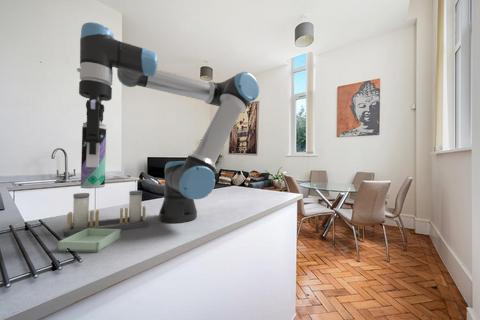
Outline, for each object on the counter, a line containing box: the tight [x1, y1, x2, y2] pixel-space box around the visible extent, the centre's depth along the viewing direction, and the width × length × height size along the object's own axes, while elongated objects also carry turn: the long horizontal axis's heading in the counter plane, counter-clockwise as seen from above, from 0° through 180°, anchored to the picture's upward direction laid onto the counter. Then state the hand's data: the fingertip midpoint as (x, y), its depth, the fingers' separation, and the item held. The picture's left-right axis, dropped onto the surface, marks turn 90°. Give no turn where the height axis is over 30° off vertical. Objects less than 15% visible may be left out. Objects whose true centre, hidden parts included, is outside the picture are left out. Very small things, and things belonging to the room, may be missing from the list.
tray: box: [57, 227, 122, 253], centre depth 58 cm, size 10×10×2 cm
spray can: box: [80, 121, 107, 189], centre depth 58 cm, size 6×6×20 cm
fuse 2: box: [128, 190, 143, 223], centre depth 76 cm, size 4×4×12 cm
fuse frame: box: [63, 206, 148, 238], centre depth 72 cm, size 23×9×6 cm, turn 120°
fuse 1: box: [72, 192, 90, 229], centre depth 68 cm, size 4×4×12 cm
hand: (93, 166), depth 58 cm, fingers closed on spray can, 5 cm apart
